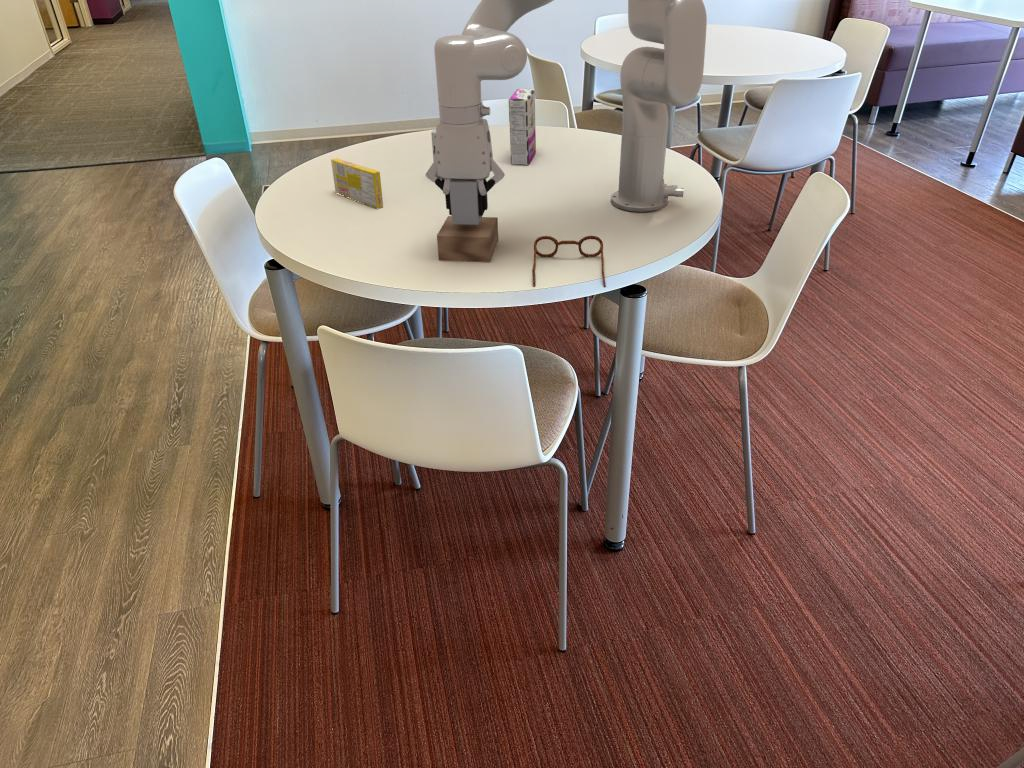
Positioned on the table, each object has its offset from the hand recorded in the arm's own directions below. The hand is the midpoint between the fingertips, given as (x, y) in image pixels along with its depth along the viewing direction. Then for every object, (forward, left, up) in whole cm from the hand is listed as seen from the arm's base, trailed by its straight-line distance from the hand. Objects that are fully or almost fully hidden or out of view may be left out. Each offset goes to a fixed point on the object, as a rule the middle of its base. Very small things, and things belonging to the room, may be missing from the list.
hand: (467, 212), depth 136 cm
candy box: (+31, -26, -8) cm, 41 cm away
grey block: (0, 0, -1) cm, 1 cm away
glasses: (-20, +8, -9) cm, 23 cm away
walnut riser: (0, 0, -8) cm, 8 cm away
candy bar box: (-3, -59, -8) cm, 60 cm away
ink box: (+12, -42, -8) cm, 44 cm away
